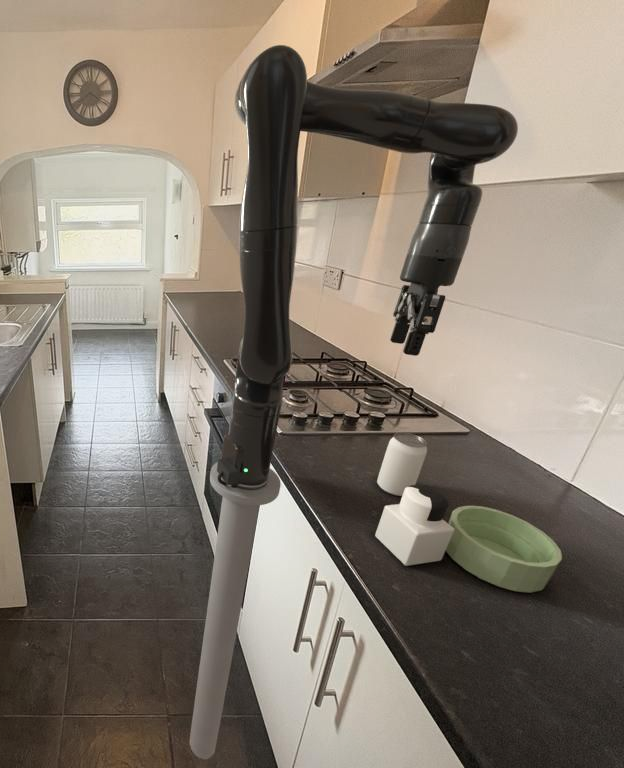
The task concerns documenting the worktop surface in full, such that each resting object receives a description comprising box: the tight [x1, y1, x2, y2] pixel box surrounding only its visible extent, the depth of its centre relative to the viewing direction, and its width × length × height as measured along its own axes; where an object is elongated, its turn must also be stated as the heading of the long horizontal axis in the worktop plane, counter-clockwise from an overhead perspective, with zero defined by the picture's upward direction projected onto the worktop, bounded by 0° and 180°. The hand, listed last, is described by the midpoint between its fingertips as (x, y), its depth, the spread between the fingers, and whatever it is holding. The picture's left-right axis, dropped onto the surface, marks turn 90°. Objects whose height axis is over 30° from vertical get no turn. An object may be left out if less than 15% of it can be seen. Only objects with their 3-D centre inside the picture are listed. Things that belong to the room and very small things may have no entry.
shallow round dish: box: [445, 505, 563, 594], centre depth 69 cm, size 14×14×6 cm
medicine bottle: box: [374, 484, 454, 567], centre depth 70 cm, size 7×7×12 cm
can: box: [376, 431, 428, 497], centre depth 86 cm, size 6×6×12 cm
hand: (403, 348), depth 74 cm, fingers open, 8 cm apart
